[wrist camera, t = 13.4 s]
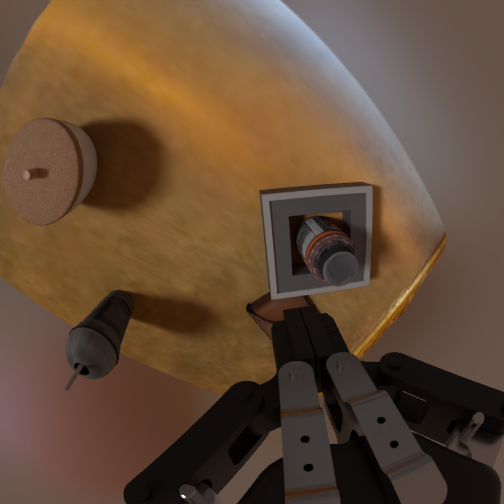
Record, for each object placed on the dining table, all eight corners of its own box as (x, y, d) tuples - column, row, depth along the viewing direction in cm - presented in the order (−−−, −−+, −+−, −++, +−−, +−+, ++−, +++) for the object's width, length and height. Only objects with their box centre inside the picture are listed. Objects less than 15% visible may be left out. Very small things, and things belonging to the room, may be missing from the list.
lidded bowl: (31, 150, 32) (-18, 159, 22) (91, 102, 31) (46, 94, 20) (62, 221, 36) (19, 248, 26) (126, 181, 35) (88, 198, 25)
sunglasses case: (347, 345, 47) (339, 378, 42) (313, 351, 51) (303, 381, 47) (292, 273, 41) (277, 308, 36) (256, 285, 46) (239, 317, 41)
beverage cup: (98, 313, 42) (45, 402, 24) (101, 276, 40) (34, 361, 21) (139, 327, 43) (99, 425, 25) (144, 290, 41) (95, 388, 22)
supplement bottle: (343, 230, 39) (378, 262, 29) (318, 263, 41) (343, 305, 30) (311, 205, 38) (339, 231, 27) (284, 241, 39) (302, 279, 29)
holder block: (259, 190, 37) (261, 195, 34) (362, 181, 37) (372, 185, 34) (269, 288, 42) (271, 299, 39) (360, 275, 42) (369, 285, 39)
